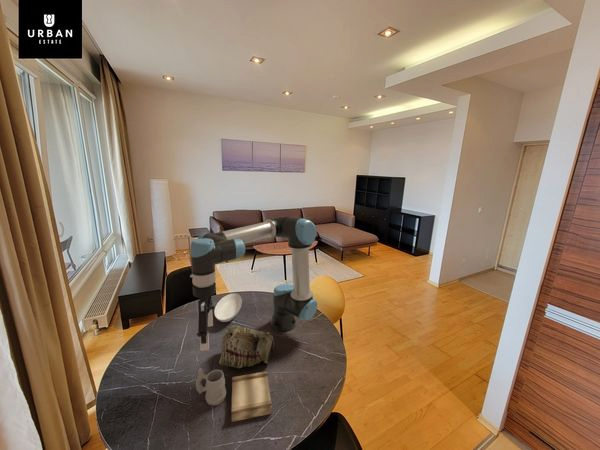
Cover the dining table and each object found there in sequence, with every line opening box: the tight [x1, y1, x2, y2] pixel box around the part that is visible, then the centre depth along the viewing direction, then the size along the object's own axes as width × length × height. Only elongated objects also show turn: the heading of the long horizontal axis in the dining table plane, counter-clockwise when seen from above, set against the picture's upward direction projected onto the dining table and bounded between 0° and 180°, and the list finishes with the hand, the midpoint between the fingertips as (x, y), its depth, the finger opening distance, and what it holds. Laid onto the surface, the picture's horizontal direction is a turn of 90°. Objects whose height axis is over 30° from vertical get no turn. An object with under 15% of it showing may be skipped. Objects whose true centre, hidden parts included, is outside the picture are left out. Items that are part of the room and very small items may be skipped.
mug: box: [195, 367, 227, 406], centre depth 94 cm, size 8×12×12 cm, turn 83°
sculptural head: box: [218, 324, 275, 369], centre depth 113 cm, size 17×21×25 cm
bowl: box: [214, 293, 243, 323], centre depth 150 cm, size 30×15×6 cm, turn 3°
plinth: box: [231, 370, 273, 423], centre depth 94 cm, size 14×16×4 cm
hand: (207, 337), depth 89 cm, fingers open, 13 cm apart
